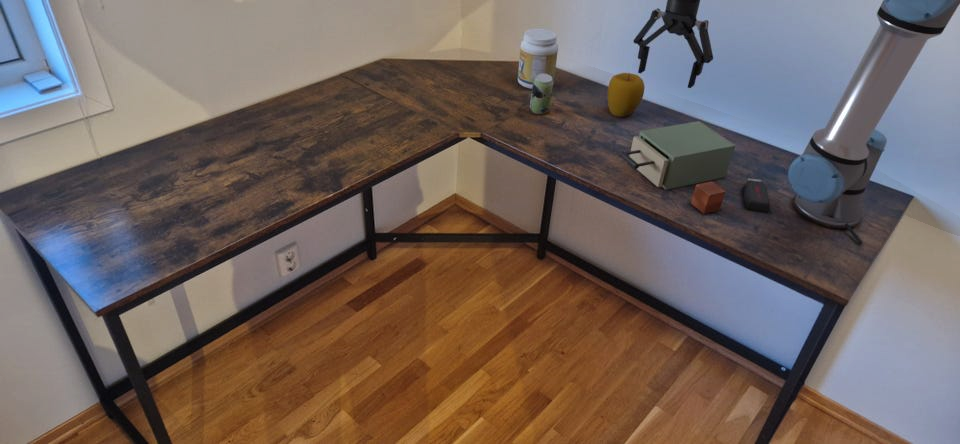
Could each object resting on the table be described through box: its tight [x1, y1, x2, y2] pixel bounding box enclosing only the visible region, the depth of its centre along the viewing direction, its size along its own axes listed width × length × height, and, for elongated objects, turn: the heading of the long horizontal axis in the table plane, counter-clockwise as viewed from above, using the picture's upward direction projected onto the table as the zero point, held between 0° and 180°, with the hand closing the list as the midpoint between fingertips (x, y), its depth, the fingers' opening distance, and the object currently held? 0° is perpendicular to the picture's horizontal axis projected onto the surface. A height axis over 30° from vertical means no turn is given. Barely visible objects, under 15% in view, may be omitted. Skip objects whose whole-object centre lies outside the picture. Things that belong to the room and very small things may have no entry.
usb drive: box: [742, 178, 771, 213], centre depth 165 cm, size 5×12×3 cm, turn 167°
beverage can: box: [529, 73, 554, 115], centre depth 197 cm, size 6×7×12 cm
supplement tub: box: [517, 28, 559, 90], centre depth 213 cm, size 12×12×17 cm
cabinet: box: [638, 120, 736, 191], centre depth 173 cm, size 20×15×10 cm
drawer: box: [618, 135, 671, 188], centre depth 171 cm, size 25×13×8 cm, turn 114°
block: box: [690, 180, 727, 215], centre depth 160 cm, size 5×5×6 cm
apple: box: [606, 72, 645, 118], centre depth 198 cm, size 11×11×13 cm
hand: (665, 79), depth 168 cm, fingers open, 13 cm apart
